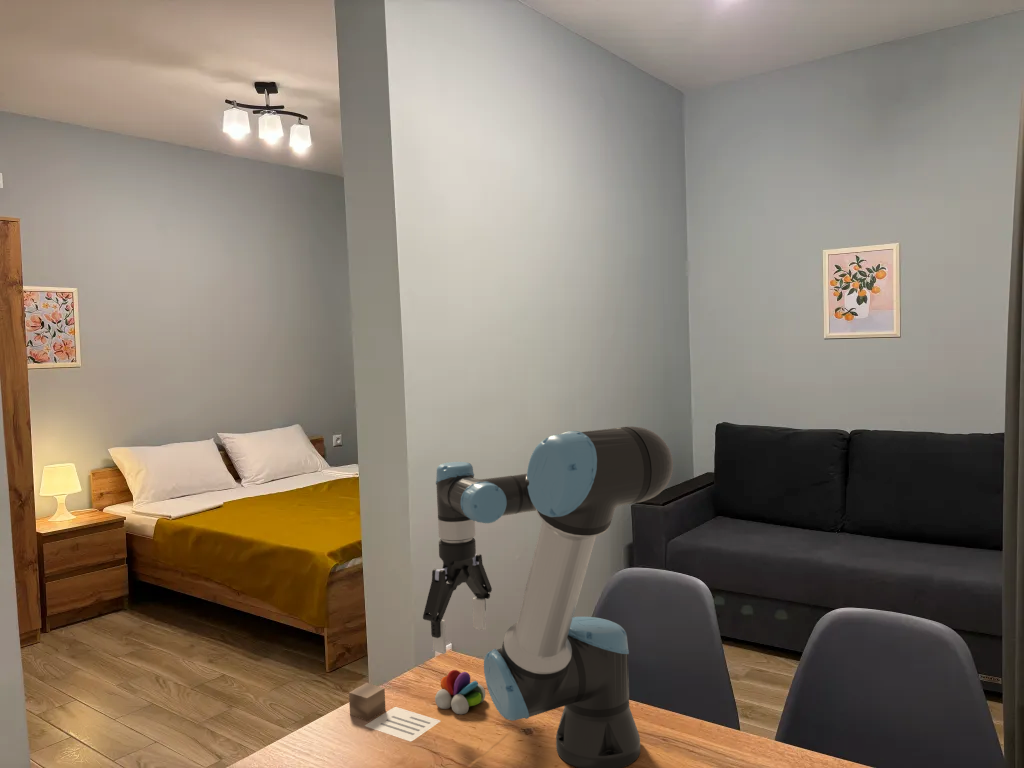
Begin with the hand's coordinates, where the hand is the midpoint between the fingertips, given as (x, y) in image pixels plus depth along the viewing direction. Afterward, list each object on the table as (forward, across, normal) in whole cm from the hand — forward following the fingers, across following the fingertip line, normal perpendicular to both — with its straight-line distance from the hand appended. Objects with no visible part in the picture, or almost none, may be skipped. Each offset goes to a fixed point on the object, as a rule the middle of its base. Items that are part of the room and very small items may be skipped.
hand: (460, 640), depth 155 cm
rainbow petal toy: (+14, +1, 0) cm, 14 cm away
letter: (+13, +13, -5) cm, 19 cm away
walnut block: (+13, +13, -14) cm, 23 cm away
